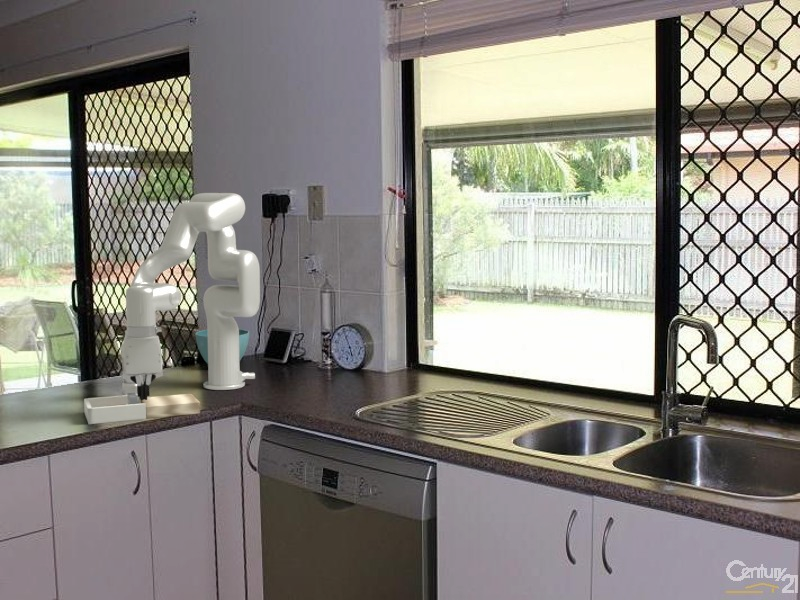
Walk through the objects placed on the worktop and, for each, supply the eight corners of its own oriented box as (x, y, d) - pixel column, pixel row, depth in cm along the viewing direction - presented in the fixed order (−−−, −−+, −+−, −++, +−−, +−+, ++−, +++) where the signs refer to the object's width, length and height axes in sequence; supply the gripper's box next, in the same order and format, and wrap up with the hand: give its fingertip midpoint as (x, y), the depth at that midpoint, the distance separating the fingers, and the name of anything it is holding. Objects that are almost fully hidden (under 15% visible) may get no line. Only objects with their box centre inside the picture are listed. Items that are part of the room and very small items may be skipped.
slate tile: (134, 392, 239) (127, 393, 238) (137, 396, 234) (129, 396, 233) (135, 410, 239) (127, 411, 239) (138, 414, 235) (130, 415, 234)
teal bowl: (252, 370, 299) (252, 335, 297) (197, 373, 294) (197, 337, 292) (246, 361, 316) (246, 327, 314) (194, 363, 311) (194, 329, 309)
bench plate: (191, 403, 249) (191, 393, 249) (200, 413, 238) (199, 402, 238) (140, 408, 243) (140, 397, 243) (147, 418, 232) (146, 407, 232)
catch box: (139, 408, 244) (138, 394, 243) (146, 418, 232) (145, 403, 231) (84, 413, 238) (83, 398, 237) (88, 424, 226) (88, 408, 225)
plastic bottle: (150, 396, 258) (148, 329, 256) (135, 401, 252) (133, 332, 250) (131, 395, 260) (129, 328, 258) (117, 399, 254) (114, 331, 252)
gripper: (167, 328, 242) (169, 394, 244) (110, 331, 236) (113, 398, 238) (172, 332, 235) (174, 399, 237) (114, 335, 229) (116, 404, 231)
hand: (143, 399), depth 237 cm, fingers closed
